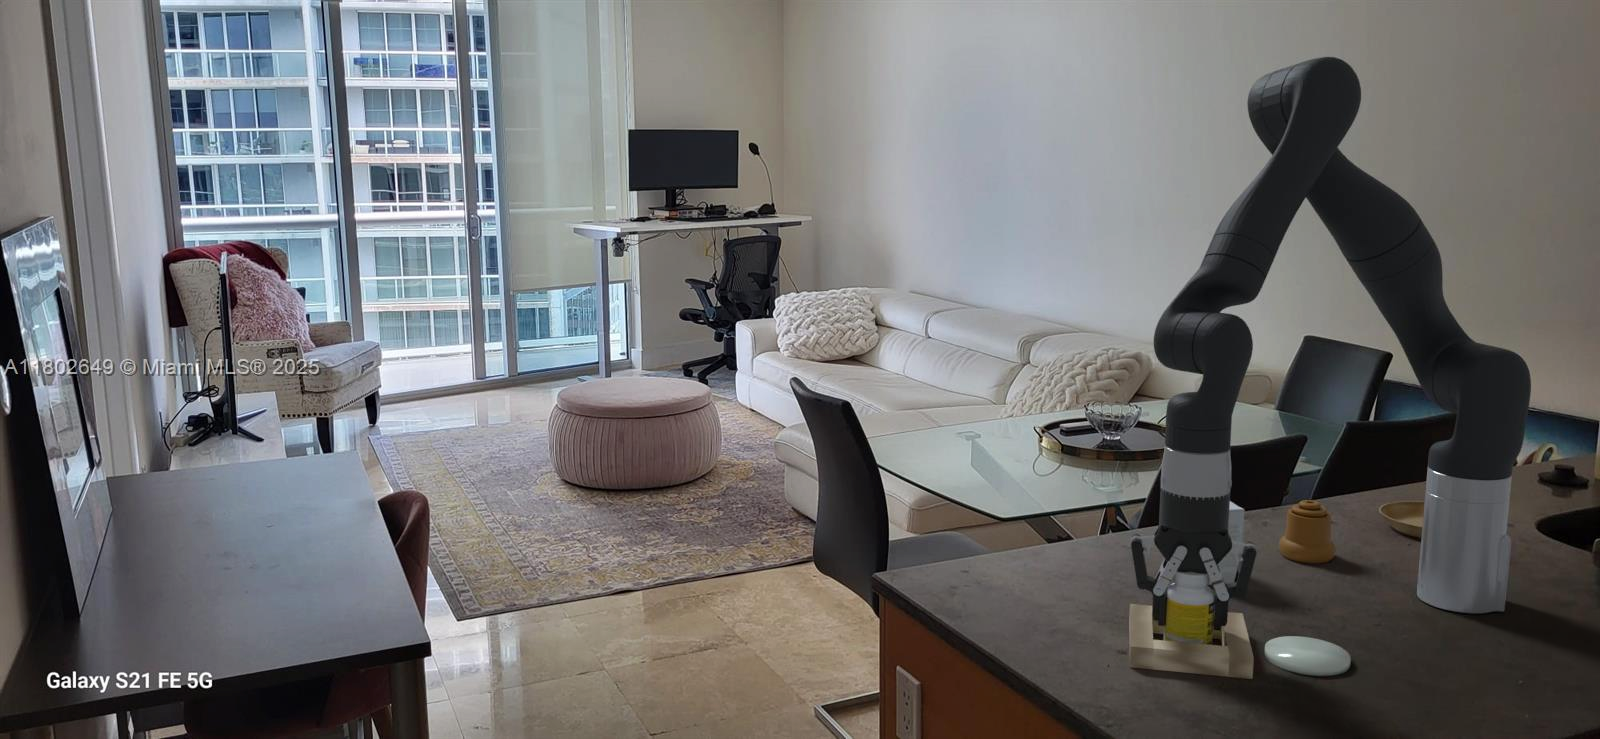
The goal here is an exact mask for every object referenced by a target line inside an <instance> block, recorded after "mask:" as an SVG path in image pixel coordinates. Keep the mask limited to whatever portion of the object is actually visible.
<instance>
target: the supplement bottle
mask: <svg viewBox="0 0 1600 739" xmlns="http://www.w3.org/2000/svg"><path fill="white" fill-rule="evenodd" d="M1172 580H1173V583H1171V584H1168V586H1167V588H1166V590H1165V593H1166V605H1165V626H1164V634H1163V639H1162V640H1163V641H1174V642H1185V643H1196V644H1207V645H1213V638H1212V635H1213V618H1214V603H1215V593H1214V590H1213V589H1212V588H1210V587H1209V585H1208V584H1209V581H1210V577H1209V575H1208V572H1206V574H1200V573H1195V572H1192V571H1191V572H1177V571H1176V573H1175V575H1174V577H1173V578H1172Z"/></svg>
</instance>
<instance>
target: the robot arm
mask: <svg viewBox="0 0 1600 739" xmlns="http://www.w3.org/2000/svg"><path fill="white" fill-rule="evenodd" d="M1247 95H1248V97H1247V104H1246V105H1247V112H1248V117H1249V121H1250V124H1251V126H1252V128H1253V130H1254V132H1255V134H1256V135H1257V137H1258V138H1259V140H1260V141H1261V142H1262V144H1263V145H1264V146H1265V148H1266V150H1268V151H1269V153H1270V154H1271V157H1270V158H1269V160H1268V161H1267V163H1266V164H1265V165H1264V167H1263V168H1262V169H1261V171H1260V172H1259V173H1258V174H1257V175H1256V177H1255V178H1254V179H1253V180H1251V182H1250V184H1248V186H1247V187H1246V188H1245V189H1244V190H1243V191H1242V193H1241V194H1240V195H1239V196H1238V197H1237V199H1236V200H1234V201H1233V203H1232V205H1231V206H1230V207H1229V209H1228V210H1227V212H1226V213H1225V214H1224V215H1223V217H1222V219H1221V221H1220V222H1219V224H1218V226H1217V228H1216V230H1214V231H1215V232H1214V234H1213V236H1212V238H1211V240H1210V244H1209V245H1208V247H1207V249H1206V251H1205V252H1206V253H1205V254H1204V257H1203V259H1202V261H1201V264H1200V266H1199V268H1198V270H1196V271H1195V273H1194V275H1193V276H1192V277H1190V279H1189V280H1188V281H1187V282H1186V283H1185V284H1184V286H1183V288H1181V289H1180V291H1179V292H1178V294H1176V296H1175V297H1174V298H1173V299H1172V301H1171V302H1170V304H1169V305H1168V306H1167V307H1166V308H1165V310H1164V311H1163V312H1162V315H1161V316H1160V318H1159V319H1158V322H1157V325H1156V327H1155V330H1154V335H1153V349H1154V350H1153V351H1154V353H1155V357H1156V358H1157V361H1159V363H1160V364H1161V365H1163V366H1164V367H1165V368H1168V369H1170V370H1173V371H1174V370H1175V371H1179V372H1180V371H1181V372H1186V373H1192V374H1198V375H1202V381H1201V384H1200V386H1199V388H1198V390H1197V391H1190V392H1189V391H1187V392H1181V393H1177V394H1175V395H1172V397H1171V398H1170V399H1169V400H1168V403H1167V407H1166V411H1165V412H1166V415H1165V429H1164V430H1165V432H1164V433H1165V434H1164V449H1163V450H1164V451H1163V456H1162V461H1161V474H1160V495H1159V496H1160V497H1159V498H1160V499H1159V517H1158V518H1159V519H1158V521H1159V522H1158V527H1157V530H1155V533H1154V534H1151V535H1140V534H1139V533H1133V534H1132V535H1131V537H1130V546H1131V553H1132V560H1133V561H1132V562H1133V566H1134V572H1135V578H1136V579H1135V580H1136V584H1137V587H1138V589H1140V590H1147V591H1149V592H1150V593H1151V595H1152V605H1151V606H1152V616H1153V619H1154V620H1156V621H1158V626H1165V605H1166V590H1167V588H1168V586H1169V585H1170V582H1171V581H1172V580H1173V577H1174V575H1175V573H1176V571H1177V572H1191V571H1192V572H1195V573H1200V574H1206V572H1208V575H1209V577H1210V580H1211V582H1212V584H1213V585H1212V586H1213V588H1214V591H1215V592H1216V593H1214V595H1215V603H1214V618H1213V627H1214V630H1217V631H1221V626H1226V624H1227V617H1228V612H1229V602H1230V600H1231V599H1234V598H1236V597H1239V598H1243V597H1245V596H1246V595H1247V591H1248V588H1249V584H1250V580H1251V576H1252V572H1253V569H1254V564H1255V561H1256V559H1257V550H1256V546H1255V543H1254V542H1252V541H1249V540H1248V541H1245V542H1243V543H1241V542H1237V541H1232V540H1231V538H1230V536H1229V534H1228V524H1229V506H1230V501H1231V499H1230V498H1231V488H1232V483H1233V481H1232V460H1231V441H1232V440H1231V439H1232V422H1233V421H1232V418H1233V412H1234V410H1235V407H1236V403H1237V401H1238V400H1237V399H1238V398H1239V397H1238V396H1239V394H1240V390H1241V387H1242V385H1243V382H1244V379H1245V377H1246V374H1247V372H1248V371H1247V370H1248V368H1249V365H1250V363H1251V360H1252V359H1251V358H1252V355H1253V349H1254V348H1253V347H1254V343H1253V342H1254V341H1253V340H1254V339H1253V336H1252V333H1251V330H1250V329H1251V328H1249V326H1248V324H1247V322H1246V321H1245V320H1244V319H1243V318H1241V317H1240V316H1238V315H1236V314H1232V313H1225V312H1222V311H1223V310H1225V309H1227V308H1230V307H1236V306H1241V305H1245V304H1249V303H1251V302H1253V301H1254V300H1256V298H1258V296H1259V294H1260V292H1261V290H1262V289H1263V285H1264V283H1265V281H1266V279H1267V276H1268V275H1269V273H1270V269H1271V267H1272V266H1273V263H1274V260H1275V257H1276V256H1277V253H1278V251H1279V249H1280V246H1281V244H1282V242H1283V240H1284V238H1285V235H1286V234H1287V231H1288V230H1289V228H1290V226H1291V223H1292V222H1293V220H1294V218H1295V216H1296V214H1297V212H1298V211H1299V209H1300V208H1301V206H1302V205H1303V202H1304V201H1305V199H1307V201H1308V202H1309V204H1310V206H1311V207H1312V208H1313V210H1314V211H1315V213H1316V214H1317V216H1318V217H1319V219H1320V220H1321V222H1322V223H1323V225H1324V226H1325V228H1326V229H1327V230H1328V232H1329V233H1330V235H1331V236H1332V237H1333V239H1334V241H1335V243H1336V244H1337V246H1338V249H1339V250H1340V252H1341V253H1342V256H1343V257H1344V258H1345V260H1346V261H1347V263H1348V265H1349V266H1350V268H1351V269H1352V271H1353V273H1355V275H1356V277H1357V279H1358V281H1360V283H1361V284H1362V286H1363V287H1364V288H1365V290H1366V292H1367V293H1368V294H1369V296H1370V298H1371V300H1372V301H1373V303H1374V304H1375V306H1376V307H1377V309H1378V310H1379V312H1380V314H1382V316H1383V318H1384V319H1385V321H1386V322H1387V324H1388V325H1389V327H1390V328H1391V330H1392V332H1394V334H1395V337H1396V338H1397V340H1398V342H1399V344H1400V346H1401V348H1402V350H1403V352H1404V354H1405V356H1406V358H1407V361H1408V362H1409V364H1410V366H1411V369H1412V371H1413V373H1414V374H1415V378H1416V380H1417V382H1418V383H1419V385H1420V387H1421V389H1422V391H1423V392H1424V394H1425V396H1426V397H1427V398H1428V399H1429V400H1430V401H1431V402H1432V403H1433V404H1434V405H1435V406H1437V407H1438V408H1440V409H1442V410H1444V411H1447V412H1450V413H1453V414H1456V420H1455V425H1454V426H1455V427H1454V430H1453V435H1452V437H1451V438H1450V439H1448V440H1447V439H1446V440H1441V441H1436V442H1435V443H1433V444H1432V445H1431V446H1430V447H1429V452H1428V459H1427V469H1426V470H1427V472H1426V473H1427V474H1426V482H1425V483H1426V485H1425V494H1424V496H1425V497H1424V502H1425V505H1424V516H1423V528H1422V538H1420V539H1421V540H1420V541H1421V542H1420V553H1419V561H1418V562H1419V563H1418V575H1417V586H1416V587H1417V588H1416V595H1417V597H1418V598H1419V600H1421V601H1422V602H1424V603H1426V604H1428V605H1429V606H1432V607H1435V608H1439V609H1442V610H1446V611H1452V612H1457V613H1462V614H1463V613H1465V614H1466V613H1467V614H1488V613H1490V612H1491V613H1492V612H1505V608H1506V607H1505V606H1506V598H1507V597H1506V596H1507V589H1508V588H1507V587H1508V586H1507V585H1508V578H1509V577H1508V576H1509V568H1510V558H1511V547H1512V539H1511V537H1510V536H1509V535H1508V534H1507V528H1508V519H1509V518H1508V517H1509V509H1510V508H1509V507H1510V497H1511V487H1512V476H1513V469H1514V468H1513V467H1514V464H1515V462H1516V460H1517V458H1518V456H1519V455H1520V453H1521V451H1522V449H1523V444H1524V439H1525V438H1524V437H1525V433H1526V426H1527V421H1528V413H1529V408H1530V401H1531V394H1532V379H1531V372H1530V369H1529V366H1528V365H1527V363H1526V360H1524V358H1523V357H1522V356H1521V355H1519V354H1518V353H1516V352H1515V351H1512V350H1510V349H1507V348H1502V347H1499V346H1493V345H1489V344H1485V343H1480V342H1476V341H1475V340H1474V339H1472V337H1470V336H1469V335H1468V334H1467V333H1466V332H1465V331H1464V329H1463V328H1462V326H1461V325H1460V324H1459V322H1458V321H1457V319H1456V318H1455V316H1454V315H1453V314H1452V313H1453V312H1451V310H1450V308H1449V306H1448V304H1447V303H1446V299H1445V297H1444V290H1443V283H1444V282H1443V280H1444V279H1443V262H1442V257H1441V253H1440V251H1439V248H1438V246H1437V244H1436V241H1435V240H1434V238H1433V237H1432V235H1431V233H1430V232H1429V230H1428V228H1427V227H1426V225H1425V223H1424V222H1423V220H1422V219H1421V217H1420V215H1419V214H1418V212H1417V211H1416V209H1415V208H1414V207H1413V206H1412V205H1411V204H1410V202H1408V201H1407V199H1405V197H1403V196H1402V195H1400V194H1399V193H1397V191H1395V190H1394V189H1392V188H1391V187H1389V186H1387V185H1386V184H1385V183H1383V182H1382V181H1380V180H1378V179H1376V177H1374V176H1372V175H1371V174H1369V173H1368V172H1366V171H1364V170H1363V169H1361V168H1360V167H1359V166H1357V165H1355V164H1354V163H1353V161H1351V160H1350V159H1348V158H1347V156H1346V155H1345V154H1343V152H1342V151H1341V149H1340V148H1339V146H1340V144H1341V143H1342V141H1343V140H1344V138H1345V137H1346V136H1347V133H1348V132H1349V131H1350V129H1351V127H1352V125H1353V123H1354V122H1355V120H1356V118H1357V116H1358V113H1359V110H1360V108H1361V103H1362V102H1361V101H1362V88H1361V83H1360V79H1359V78H1358V75H1357V73H1356V72H1355V70H1354V69H1353V67H1352V66H1351V65H1350V64H1349V63H1347V61H1344V60H1343V59H1341V58H1338V57H1336V56H1335V57H1334V56H1321V57H1316V58H1311V59H1308V60H1304V61H1301V62H1298V63H1296V64H1293V65H1290V66H1287V67H1284V68H1280V69H1277V70H1274V71H1272V72H1268V73H1267V74H1265V75H1263V76H1261V77H1260V78H1258V79H1257V80H1256V81H1254V83H1253V84H1252V85H1251V88H1250V90H1249V92H1248V94H1247ZM1153 546H1155V547H1156V548H1157V550H1158V551H1159V552H1160V554H1161V555H1162V556H1163V558H1164V559H1163V561H1162V562H1161V564H1160V567H1159V570H1158V572H1157V574H1156V576H1155V577H1152V576H1150V575H1148V570H1147V564H1146V558H1145V556H1148V555H1150V553H1151V548H1152V547H1153ZM1230 550H1231V551H1233V552H1234V553H1235V554H1234V556H1235V559H1236V561H1238V562H1239V563H1238V567H1237V571H1236V575H1235V578H1234V582H1232V583H1228V584H1226V583H1225V581H1224V578H1223V576H1222V574H1221V571H1220V568H1219V566H1218V564H1219V563H1220V561H1221V560H1222V559H1223V558H1224V557H1225V556H1226V555H1227V554H1228V553H1229V552H1230Z"/></svg>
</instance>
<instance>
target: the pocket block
mask: <svg viewBox="0 0 1600 739" xmlns="http://www.w3.org/2000/svg"><path fill="white" fill-rule="evenodd" d="M1128 620H1129V622H1128V624H1129V625H1128V627H1129V629H1128V630H1129V632H1128V633H1129V635H1128V636H1129V638H1128V639H1129V640H1128V641H1129V668H1134V669H1145V670H1154V671H1165V672H1167V671H1168V672H1176V673H1185V674H1187V673H1188V674H1197V675H1207V676H1216V677H1217V676H1218V677H1228V678H1236V679H1237V678H1238V679H1249V680H1253V678H1254V677H1253V676H1254V660H1255V659H1254V657H1255V656H1254V654H1253V649H1252V645H1251V641H1250V637H1249V633H1248V629H1247V625H1246V621H1245V617H1244V614H1243V613H1242V612H1233V611H1232V612H1231V611H1230V612H1229V611H1228V617H1227V624H1226V626H1221V631H1217V630H1214V627H1213V635H1212V640H1213V639H1214V640H1215V639H1216V640H1220V642H1221V645H1216V644H1212V645H1207V644H1196V643H1185V642H1174V641H1163V639H1161V640H1160V639H1154V634H1156V635H1157V634H1160V635H1164V626H1158V621H1156V620H1154V619H1153V616H1152V605H1147V604H1137V603H1136V604H1135V603H1130V604H1129V619H1128Z"/></svg>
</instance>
